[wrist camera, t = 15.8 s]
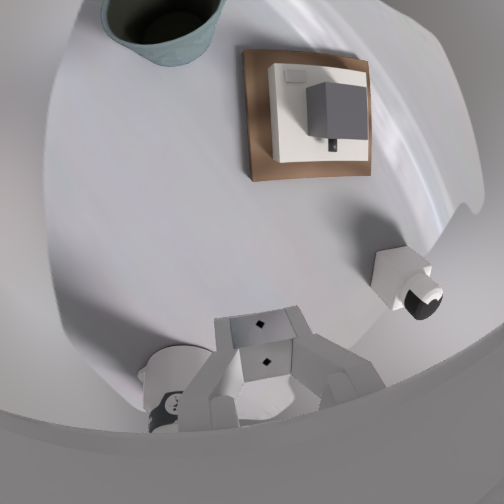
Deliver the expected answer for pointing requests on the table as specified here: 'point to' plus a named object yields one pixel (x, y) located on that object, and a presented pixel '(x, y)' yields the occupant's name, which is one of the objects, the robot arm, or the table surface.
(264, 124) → the mounting board
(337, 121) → the plug
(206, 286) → the table surface
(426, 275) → the medicine bottle
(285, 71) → the socket
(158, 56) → the teal cup
